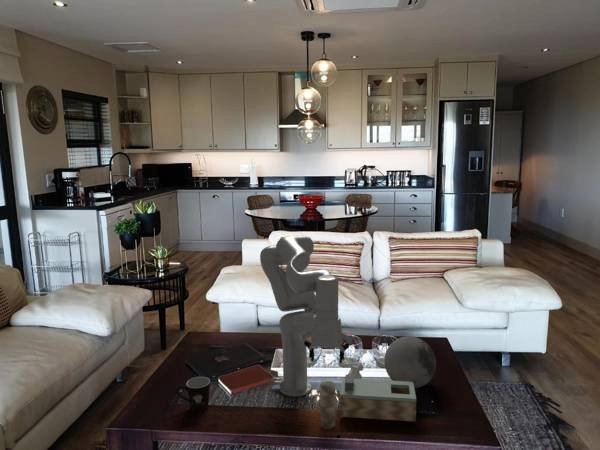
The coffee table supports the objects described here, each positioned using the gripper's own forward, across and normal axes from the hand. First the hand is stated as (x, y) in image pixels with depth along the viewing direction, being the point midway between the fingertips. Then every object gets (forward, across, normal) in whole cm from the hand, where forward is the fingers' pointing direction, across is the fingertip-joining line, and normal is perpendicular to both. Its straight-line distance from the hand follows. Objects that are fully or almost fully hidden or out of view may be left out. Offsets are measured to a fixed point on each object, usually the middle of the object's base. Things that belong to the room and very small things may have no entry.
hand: (326, 360), depth 161 cm
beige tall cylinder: (+24, +1, -1) cm, 24 cm away
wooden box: (+23, +18, +9) cm, 31 cm away
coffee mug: (+24, -49, +5) cm, 55 cm away
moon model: (+24, +31, +30) cm, 49 cm away
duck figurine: (+24, +9, +27) cm, 37 cm away
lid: (+15, +17, +9) cm, 25 cm away
